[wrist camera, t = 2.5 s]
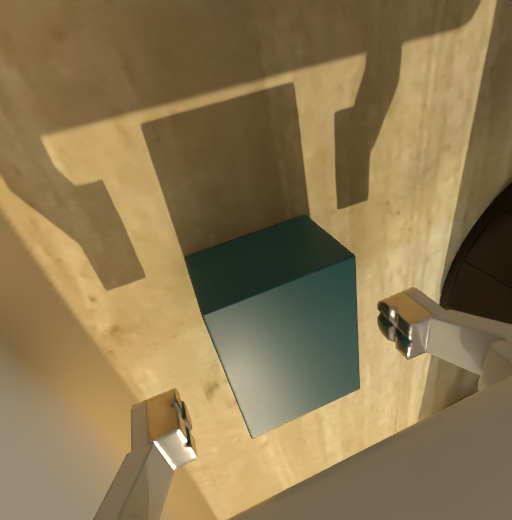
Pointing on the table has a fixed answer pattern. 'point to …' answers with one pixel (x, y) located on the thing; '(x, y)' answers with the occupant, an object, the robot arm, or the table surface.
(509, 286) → the trash tin
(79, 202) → the table surface
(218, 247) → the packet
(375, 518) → the robot arm
